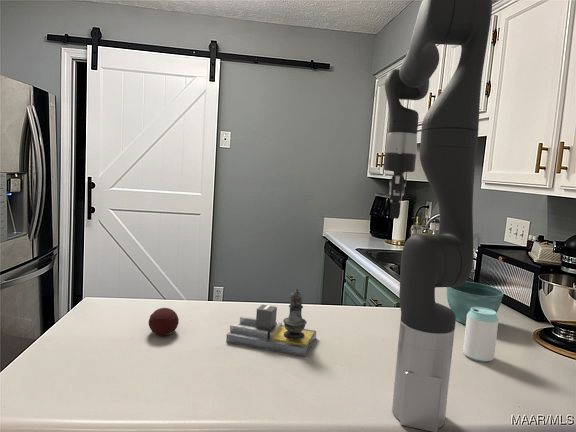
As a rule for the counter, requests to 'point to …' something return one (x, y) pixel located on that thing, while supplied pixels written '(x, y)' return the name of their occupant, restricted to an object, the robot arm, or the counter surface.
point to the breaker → (266, 317)
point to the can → (480, 334)
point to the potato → (163, 321)
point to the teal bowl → (472, 298)
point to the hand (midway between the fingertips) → (394, 216)
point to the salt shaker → (295, 318)
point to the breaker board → (269, 337)
